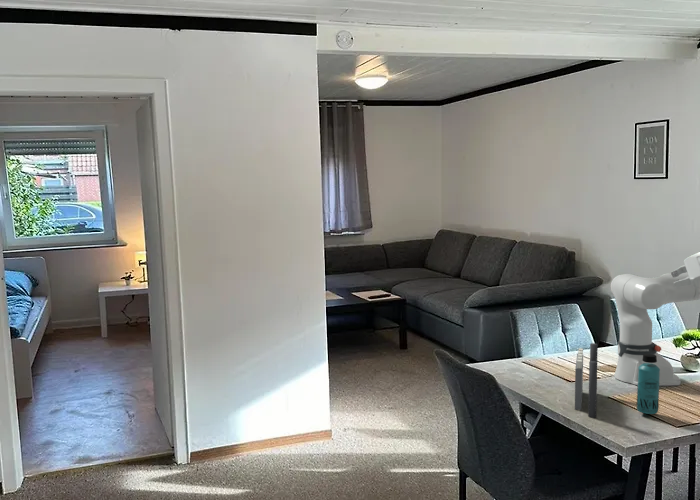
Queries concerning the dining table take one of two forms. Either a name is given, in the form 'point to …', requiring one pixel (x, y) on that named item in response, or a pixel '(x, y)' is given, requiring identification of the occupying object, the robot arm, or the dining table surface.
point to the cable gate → (593, 381)
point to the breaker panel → (579, 380)
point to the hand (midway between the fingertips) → (673, 279)
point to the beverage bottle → (648, 385)
